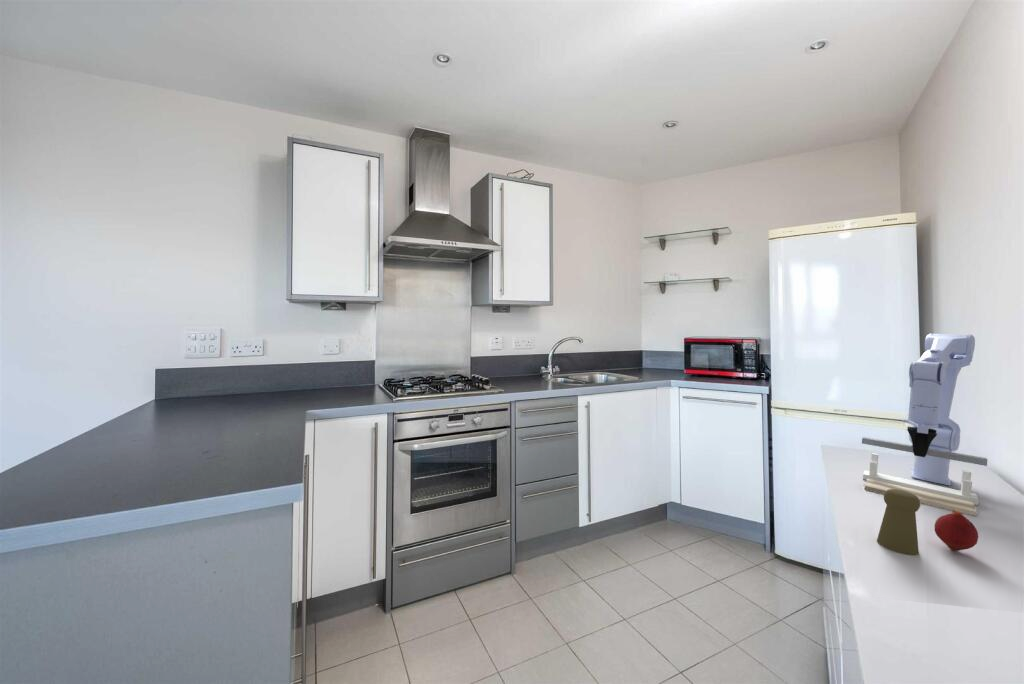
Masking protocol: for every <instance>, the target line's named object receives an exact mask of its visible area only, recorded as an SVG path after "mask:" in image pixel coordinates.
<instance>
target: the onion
mask: <svg viewBox="0 0 1024 684" xmlns="http://www.w3.org/2000/svg"><path fill="white" fill-rule="evenodd" d="M951 511H952V512H951V513H947V514H946V513H945V514H943V515H941V516H940V517H938V518H937V519H936V521H935V523H934V532H935V535H936V536H937V537H938V539H939V540H941V541H942V542H943V544H945V545H946V547H947V548H949V550H951V551H954V552H958V551H959V552H960V551H964V550H969V549H972V548H974V546H976V545H977V544H978V540H979V532H978V530H977V528H976V526H975V525H974V524H973V522H972V521H971V520H970V519H968V518H967V517H965V515H963V513H961V512H959V511H958V510H955V509H954V510H951Z"/></svg>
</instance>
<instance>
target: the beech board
mask: <svg viewBox="0 0 1024 684" xmlns="http://www.w3.org/2000/svg"><path fill="white" fill-rule="evenodd" d="M889 489H898V490H903V491H907V492H910V493H912V494H914V495H916V496H917V497H918V499H919V500H920V504H923V503H924V505H927V506H928V505H929V506H933V507H937V508H939V509H940V508H941V509H946V510H948V511H949V510H950V511H952V510H954V509H955V510H958V511H959V512H960V513H961V514H966V515H971V516H974V517H977V513H978V512H977V509H976V506H975V505H974V504H973V502H970V501H965V500H961V499H956V498H952V497H947V496H943V495H938V494H934V493H929V492H925V491H920V490H916V489H912V488H907V487H903V486H898V485H894V484H889V483H885V482H880V481H876V480H871V479H867V480H865V484H864V490H866V491H870V492H874V493H878V494H882V495H884V493H885V492H886V491H887V490H889Z"/></svg>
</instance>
